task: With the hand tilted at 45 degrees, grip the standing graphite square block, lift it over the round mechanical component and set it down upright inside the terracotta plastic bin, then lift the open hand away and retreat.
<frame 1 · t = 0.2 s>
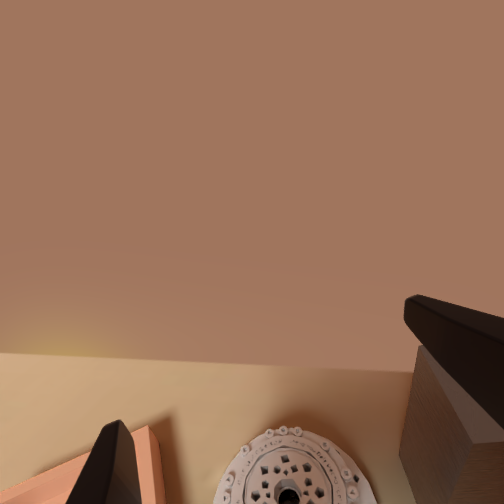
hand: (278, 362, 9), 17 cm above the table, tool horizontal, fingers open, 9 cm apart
graphite square block: (451, 491, 19), on the table
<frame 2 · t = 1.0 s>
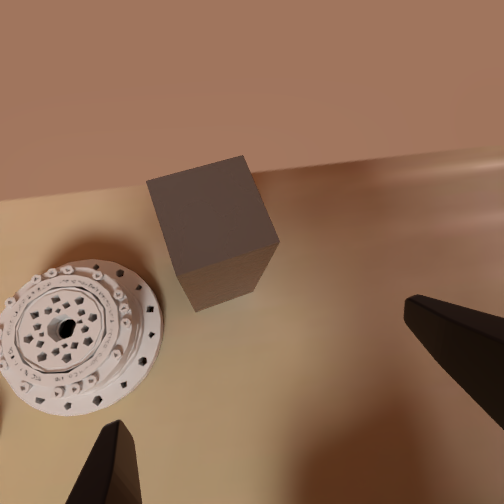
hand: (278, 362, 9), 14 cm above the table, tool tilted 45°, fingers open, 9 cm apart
mechanical component: (92, 333, 22), on the table
graphite square block: (214, 273, 24), on the table
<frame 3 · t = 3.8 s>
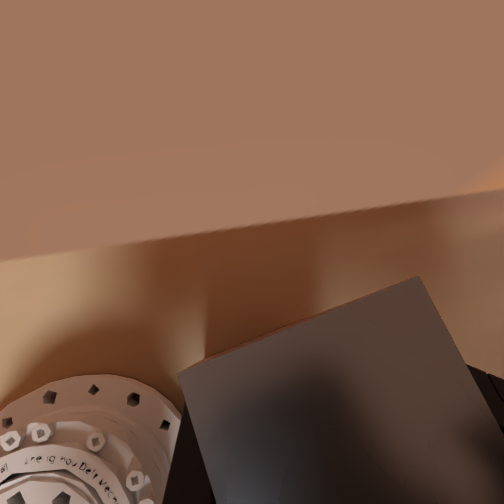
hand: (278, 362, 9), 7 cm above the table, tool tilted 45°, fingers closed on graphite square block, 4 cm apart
mechanical component: (88, 496, 13), on the table
graphite square block: (264, 386, 15), on the table, touching gripper
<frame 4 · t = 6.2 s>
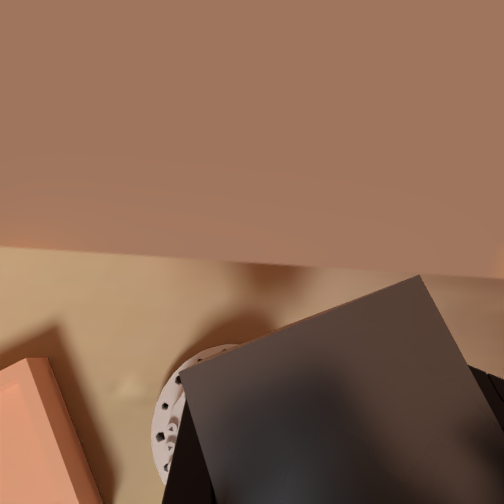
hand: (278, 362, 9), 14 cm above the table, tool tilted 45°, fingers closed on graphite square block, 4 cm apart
mechanical component: (230, 420, 21), on the table
graphite square block: (264, 386, 15), point 7 cm above the table, touching gripper
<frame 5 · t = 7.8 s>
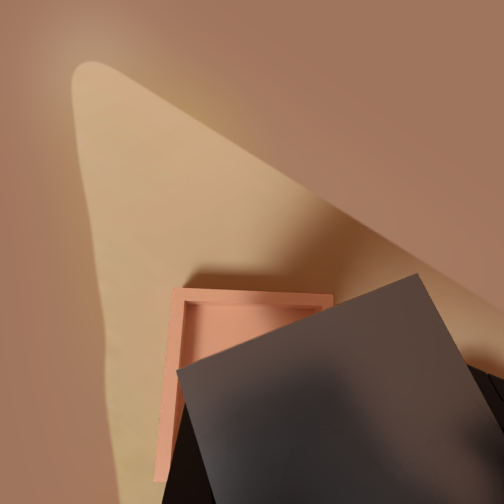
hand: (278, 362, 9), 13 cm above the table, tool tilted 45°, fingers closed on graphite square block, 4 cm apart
terracotta bin: (249, 374, 21), on the table
graphite square block: (263, 385, 15), point 7 cm above the table, touching gripper
when the fingers open (9 cm above the table, at t = 9.0 s): graphite square block drops 2 cm, resting on terracotta bin.
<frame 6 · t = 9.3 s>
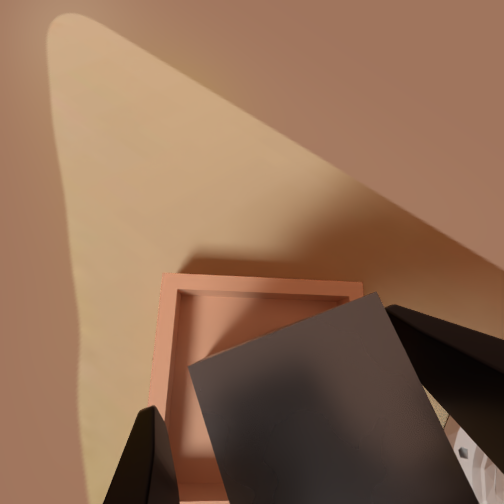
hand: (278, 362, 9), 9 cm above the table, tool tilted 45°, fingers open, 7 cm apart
terracotta bin: (258, 381, 17), on the table
graphite square block: (259, 382, 17), point 1 cm above the table, touching terracotta bin
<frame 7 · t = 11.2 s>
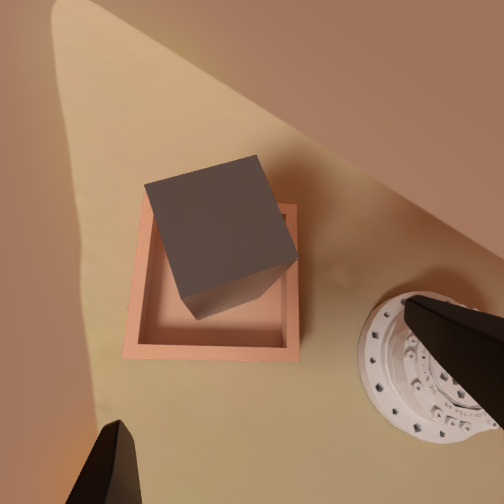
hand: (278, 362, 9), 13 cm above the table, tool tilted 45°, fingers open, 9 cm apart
terracotta bin: (217, 280, 23), on the table
mechanical component: (419, 360, 23), on the table
graphite square block: (218, 279, 22), point 1 cm above the table, touching terracotta bin
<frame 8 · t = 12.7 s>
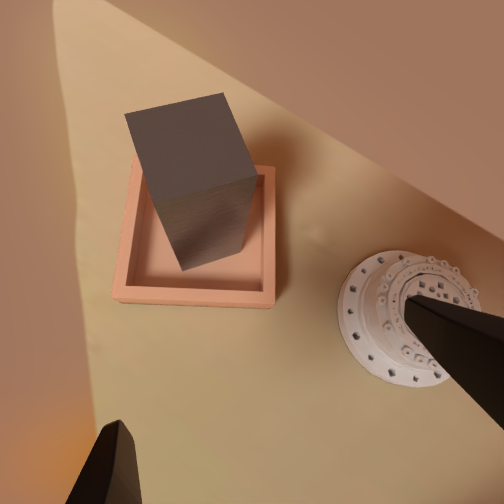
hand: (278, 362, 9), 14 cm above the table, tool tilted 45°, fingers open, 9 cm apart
terracotta bin: (202, 237, 24), on the table
mechanical component: (396, 316, 25), on the table
graphite square block: (202, 235, 24), point 1 cm above the table, touching terracotta bin
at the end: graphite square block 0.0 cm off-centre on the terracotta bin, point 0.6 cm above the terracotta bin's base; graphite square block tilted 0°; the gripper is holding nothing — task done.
